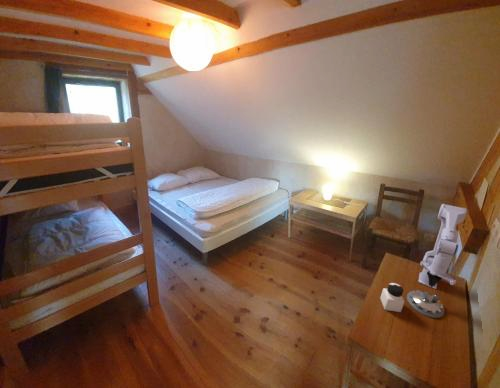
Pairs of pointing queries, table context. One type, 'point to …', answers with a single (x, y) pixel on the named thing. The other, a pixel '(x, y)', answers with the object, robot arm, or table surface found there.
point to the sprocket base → (428, 314)
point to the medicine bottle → (392, 297)
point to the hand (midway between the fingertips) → (431, 285)
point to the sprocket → (426, 301)
